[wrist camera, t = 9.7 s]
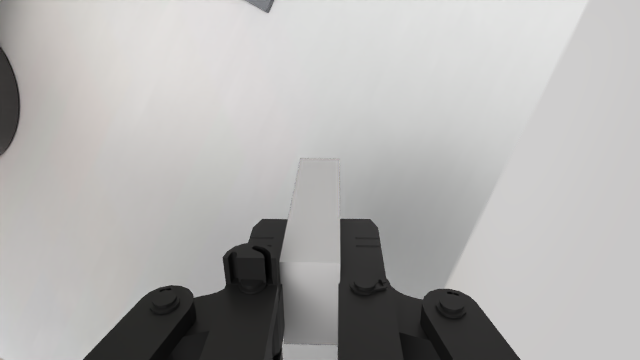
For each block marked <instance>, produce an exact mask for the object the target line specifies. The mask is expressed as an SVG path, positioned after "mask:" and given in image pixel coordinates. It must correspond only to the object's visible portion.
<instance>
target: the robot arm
mask: <svg viewBox="0 0 640 360" xmlns="http://www.w3.org/2000/svg"><path fill="white" fill-rule="evenodd" d="M18 110H19V102H18V92H17V87H16V82H15V79H14V75H13V73H12V70H11V67H10V65H9V63H8V61H7V59H6V57H5V55H4V53H3V52H2V50H1V49H0V154H2V153H3V151H4V150H5V149H6V148H7V147H8V145H9V143H10V142H11V140H12V138H13V135H14V132H15V129H16V126H17V120H18ZM223 263H224V271H225V279H226V286H225V289H223V290H221V291H219V292H217V293H213V294H210V295H205V296H200V297H195V298H193V294H192V292H191V291H190V290H189V289H187V288H185V287H182V286H173V285H170V286H165V287H160V288H158V289H156V290H153V291H151V292H149V293H148V294H147V295H145V296H144V297H143V298H142V299H141V300H140V301H139V302H138V303H137V304H136V305H135V306H134V307H133V308H132V309H131V310H130V311H129V312H128V313H127V314H126V315H125V316H124V317H123V318H122V319H121V320H120V322H119V323H118V324H117V325H116V326H115V327H114V328H113V329H112V330H111V331H110V332H109V333H108V334H107V335H106V336H105V337H104V338H103V339H102V340H101V341H100V342H99V343H98V344H97V345H96V346H95V348H94V349H93V350H92V351H91V352H90V353H89V354H88V355H87V356H86V357H85V358H84V359H83V360H283V357H282V342H283V335H284V344H313V345H338V360H520V358H519V357H518V356H517V355H516V354H515V352H514V351H513V349H512V348H511V347H510V345H509V344H508V343H507V342H506V340H505V339H504V338H503V336H502V335H501V334H500V333H499V331H498V330H497V329H496V328H495V326H494V325H493V323H492V322H491V321H490V320H489V318H488V317H487V316H486V314H485V313H484V312H483V311H482V309H481V308H480V307H479V306H478V304H477V303H476V302H475V301H474V300H473V299H472V298H471V297H469V296H468V295H465V294H464V293H462V292H460V291H456V290H452V289H437V290H434V291H431V292H429V293H428V294H427V295H426V296H424V299H423V300H421V299H417V298H413V297H410V296H407V295H404V294H402V293H400V292H398V291H396V290H395V289H394V288H393V287H391V285H390V283H389V281H388V280H387V279H386V275H385V269H384V262H383V256H382V250H381V244H380V237H379V231H378V227H377V226H376V225H375V224H374V223H373V222H372V221H371V220H370V219H340V169H339V159H302V158H300V162H299V167H298V172H297V177H296V182H295V187H294V192H293V197H292V202H291V207H290V212H289V216H288V219H262V220H261V221H260V222H259V223H258V224H256V225H255V226H254V227H253V230H252V233H251V236H250V239H249V242H248V243H246V244H242V245H238V246H235V247H233V248H232V249H230V250H229V251H227V252H226V254H225V255H224V256H223Z"/></svg>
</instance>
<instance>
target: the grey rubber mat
mask: <svg viewBox="0 0 640 360" xmlns="http://www.w3.org/2000/svg"><path fill="white" fill-rule="evenodd" d="M246 1H248V2H249V3H251V4H253V5H255V6H257V7H258V8H260V9H262V10H264V11H266V12H269V10H270V8H271V5H272V3H273V1H274V0H246Z"/></svg>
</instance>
